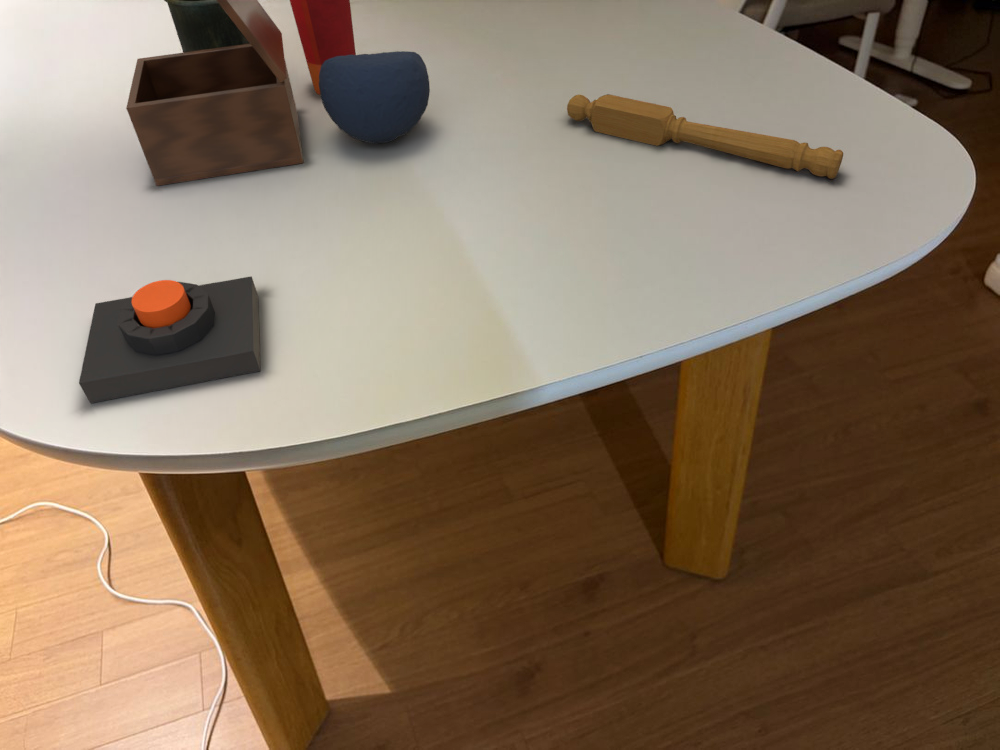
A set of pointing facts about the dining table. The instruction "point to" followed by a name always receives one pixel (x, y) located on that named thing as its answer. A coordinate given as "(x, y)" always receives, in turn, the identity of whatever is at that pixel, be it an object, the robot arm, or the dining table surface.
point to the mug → (203, 25)
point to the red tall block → (323, 32)
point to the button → (161, 303)
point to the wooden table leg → (698, 134)
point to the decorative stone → (375, 93)
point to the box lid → (258, 32)
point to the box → (212, 114)
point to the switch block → (173, 343)
